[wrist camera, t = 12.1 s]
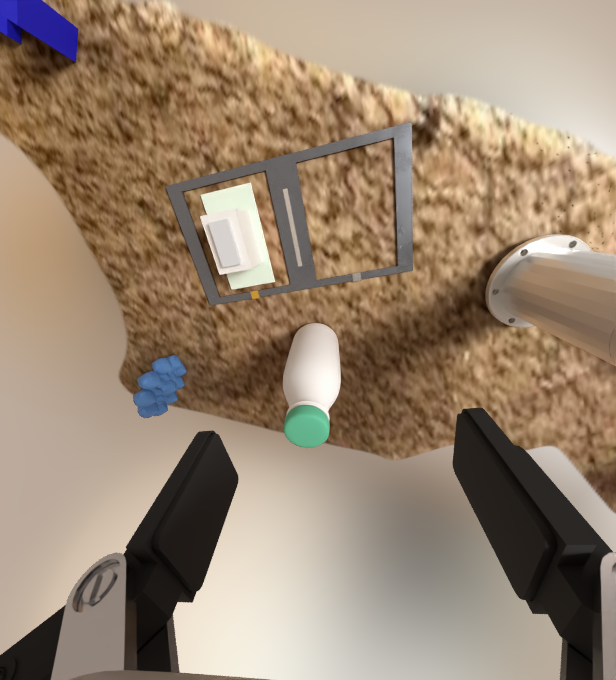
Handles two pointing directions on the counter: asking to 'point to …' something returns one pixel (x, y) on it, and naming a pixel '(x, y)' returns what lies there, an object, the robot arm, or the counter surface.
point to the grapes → (159, 386)
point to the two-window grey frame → (303, 213)
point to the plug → (232, 240)
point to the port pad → (245, 200)
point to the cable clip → (38, 25)
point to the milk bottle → (311, 384)
